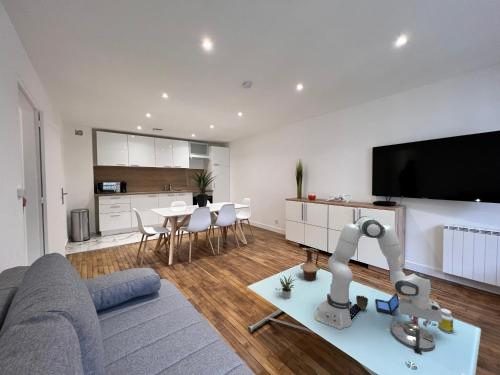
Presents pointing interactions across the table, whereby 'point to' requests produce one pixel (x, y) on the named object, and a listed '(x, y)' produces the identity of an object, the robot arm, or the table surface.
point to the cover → (409, 329)
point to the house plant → (286, 287)
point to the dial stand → (417, 339)
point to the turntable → (399, 333)
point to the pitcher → (310, 265)
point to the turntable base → (411, 346)
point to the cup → (362, 302)
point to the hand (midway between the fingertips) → (418, 324)
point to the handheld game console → (387, 305)
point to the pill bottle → (446, 321)
